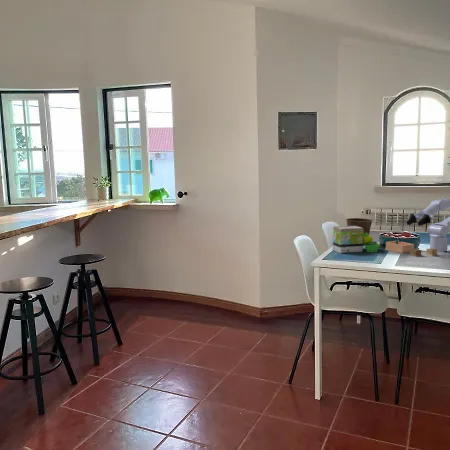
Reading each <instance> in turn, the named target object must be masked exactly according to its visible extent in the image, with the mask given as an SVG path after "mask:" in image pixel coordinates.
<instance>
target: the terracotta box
mask: <svg viewBox="0 0 450 450" xmlns="http://www.w3.org/2000/svg"><path fill="white" fill-rule="evenodd" d="M396 241H398V244H397V243H396ZM399 241H400V240H393V241H385V249H386V250H385V251H388V250H389V252H392V251H394V252H393V253H396V252H398V253H397V254H401V253H402V255H404V254H403V253H410V250H411V249H415V244H414V243H409V242H404V241H401V242H399Z"/></svg>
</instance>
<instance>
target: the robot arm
mask: <svg viewBox="0 0 450 450" xmlns="http://www.w3.org/2000/svg"><path fill="white" fill-rule="evenodd" d="M447 209H450V198H449V197H444V198H440V199H437V200H435V199H434V200H431V202H430V204H429V205H428V206H427V207H425V208H424V209H420V210H419V211H418V212H417V213H410V214H409V218H408V219H407V220H406V225H407V226H410V225H412V224H415V223H417V225H418V227H421V226H423V225H427V224H429V225H428V227H427V233H428V234H429V237H430V238H429V239H430V240H429V242H430V243H429V249H430V248H432V249H437V253H440V252H441V253H445V252H444V251H447V250H448V244H449V243H448V241H449V240H448V237H447V235H448V233H450V216H448V217H447V218H445V219H444V220H442V221H440V222H435V223H432V222H431V221H433V220H434V219H435V215H436V214H437V213H438V212H440V211H445V210H447ZM417 220H418V221H417ZM431 223H432V224H431ZM447 252H448V251H447Z"/></svg>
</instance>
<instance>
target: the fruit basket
mask: <svg viewBox="0 0 450 450" xmlns="http://www.w3.org/2000/svg"><path fill="white" fill-rule="evenodd" d="M373 238H374V237H373V236H371V235H370V233H369V234H368V233H364V235H363V241H364V243H365V245H364V248H365V250H366V252H367V253H377V252H378V249H379V247H380V244H379V243H378V242H377V241H373Z"/></svg>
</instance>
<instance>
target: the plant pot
mask: <svg viewBox="0 0 450 450" xmlns="http://www.w3.org/2000/svg"><path fill="white" fill-rule="evenodd" d="M345 221H346V226H358V227H362V228H364V233H368V234H369V235H370V233H371V232H370V231H371V227H372V223H373V219H370V218H363V217H362V218H360V217H354V218H352V217H351V218H350V217H349V218H346V219H345ZM363 235H364V234H363ZM363 247H365V243H364V241H363Z"/></svg>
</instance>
